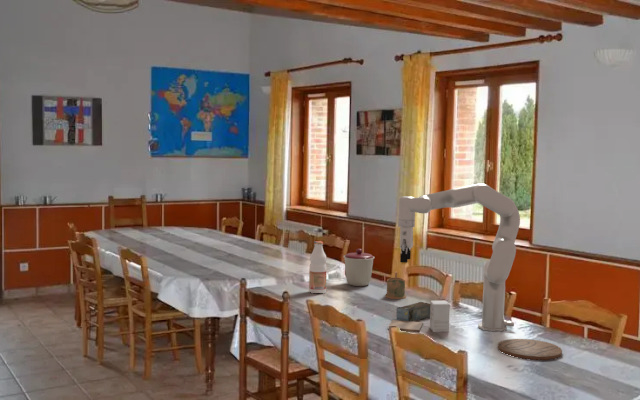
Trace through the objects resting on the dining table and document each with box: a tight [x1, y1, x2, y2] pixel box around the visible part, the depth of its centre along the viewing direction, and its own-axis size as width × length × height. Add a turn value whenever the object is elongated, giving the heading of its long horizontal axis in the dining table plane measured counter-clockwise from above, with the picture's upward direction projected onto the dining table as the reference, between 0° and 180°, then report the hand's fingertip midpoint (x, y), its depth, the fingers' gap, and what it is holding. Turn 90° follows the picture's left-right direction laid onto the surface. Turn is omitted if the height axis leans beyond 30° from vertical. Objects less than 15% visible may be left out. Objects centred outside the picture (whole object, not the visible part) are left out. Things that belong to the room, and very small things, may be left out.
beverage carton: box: [395, 301, 430, 322], centre depth 341 cm, size 8×19×7 cm, turn 134°
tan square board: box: [387, 319, 424, 333], centre depth 323 cm, size 14×14×1 cm
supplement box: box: [429, 300, 451, 333], centre depth 319 cm, size 7×7×13 cm
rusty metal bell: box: [384, 271, 407, 300], centre depth 389 cm, size 12×18×12 cm, turn 174°
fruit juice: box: [308, 240, 327, 294], centre depth 392 cm, size 9×9×28 cm
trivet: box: [497, 338, 563, 361], centre depth 290 cm, size 25×25×2 cm
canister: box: [343, 248, 375, 287], centre depth 416 cm, size 18×18×21 cm
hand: (405, 260), depth 327 cm, fingers open, 9 cm apart
